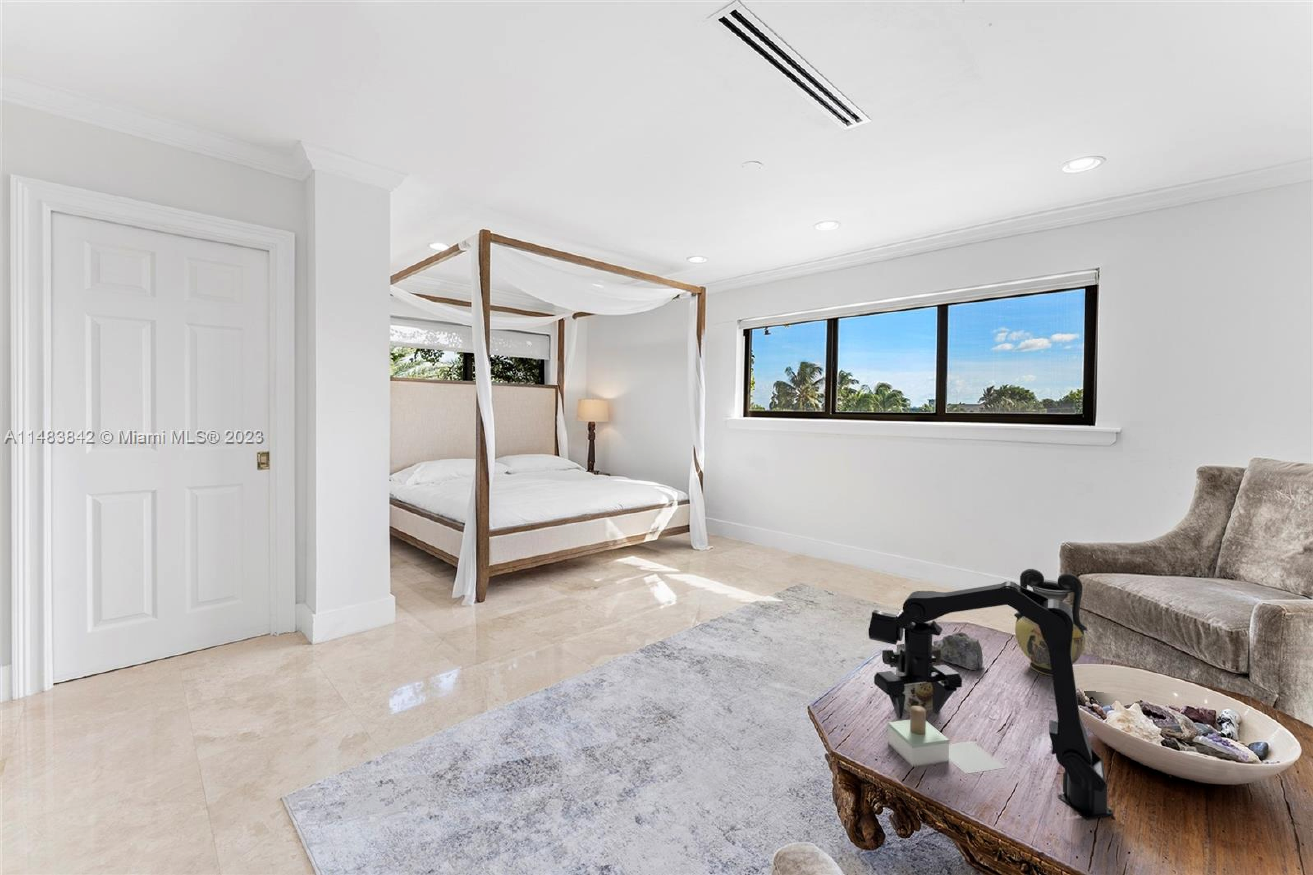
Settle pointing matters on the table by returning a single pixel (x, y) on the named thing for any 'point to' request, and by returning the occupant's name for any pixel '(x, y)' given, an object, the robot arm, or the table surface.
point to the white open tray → (918, 751)
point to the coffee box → (919, 686)
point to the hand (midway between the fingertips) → (917, 716)
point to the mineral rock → (961, 650)
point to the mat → (972, 758)
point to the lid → (918, 730)
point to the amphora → (1030, 631)
